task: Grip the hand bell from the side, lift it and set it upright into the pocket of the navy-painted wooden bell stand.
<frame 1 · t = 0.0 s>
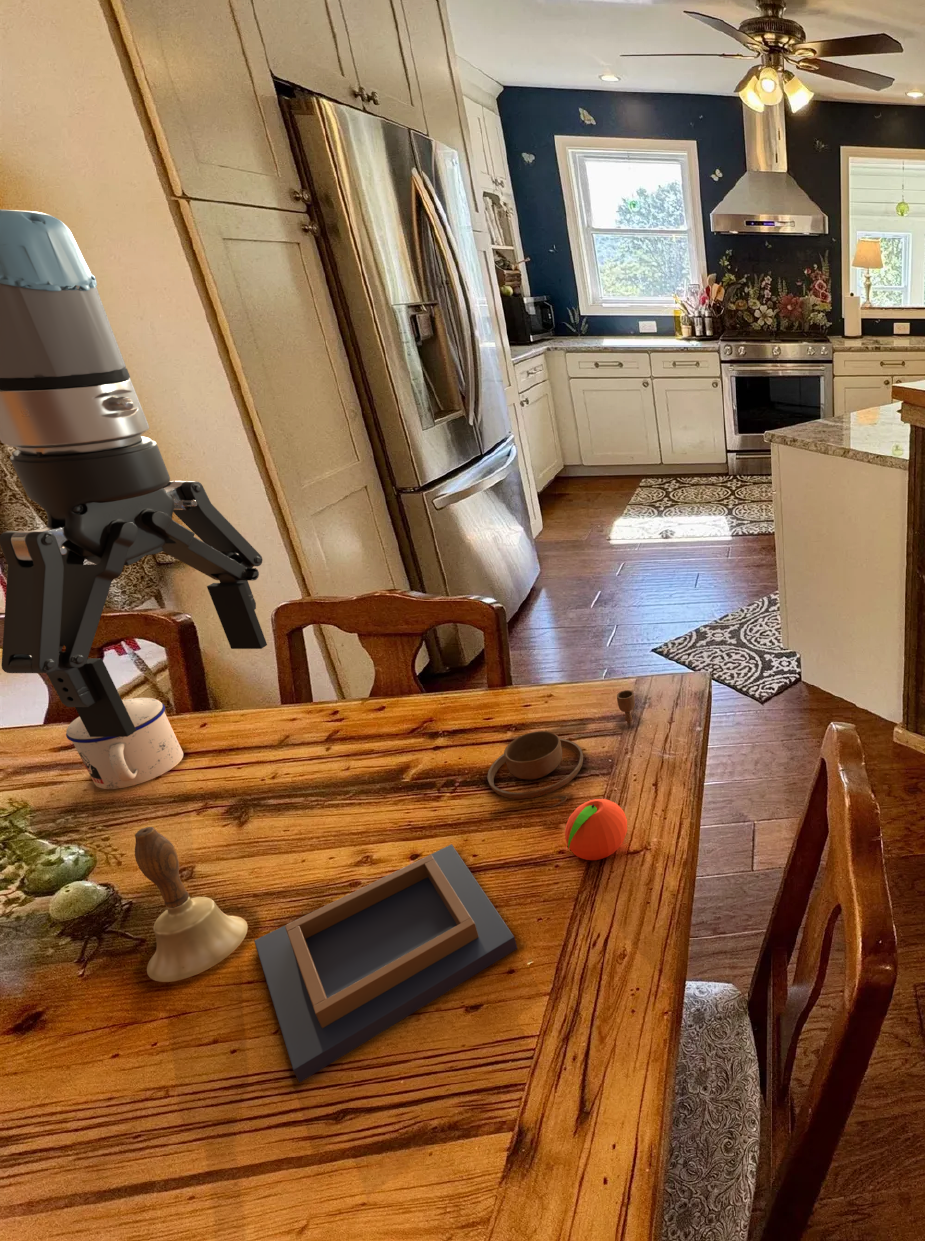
hand: (188, 686, 61), 31 cm above the table, tool pointing down, fingers open, 13 cm apart
teacup with lid: (141, 778, 95), on the table
place setting: (570, 767, 100), on the table
clementine: (597, 855, 85), on the table
bell stand: (391, 955, 72), on the table
hand bell: (203, 953, 72), on the table
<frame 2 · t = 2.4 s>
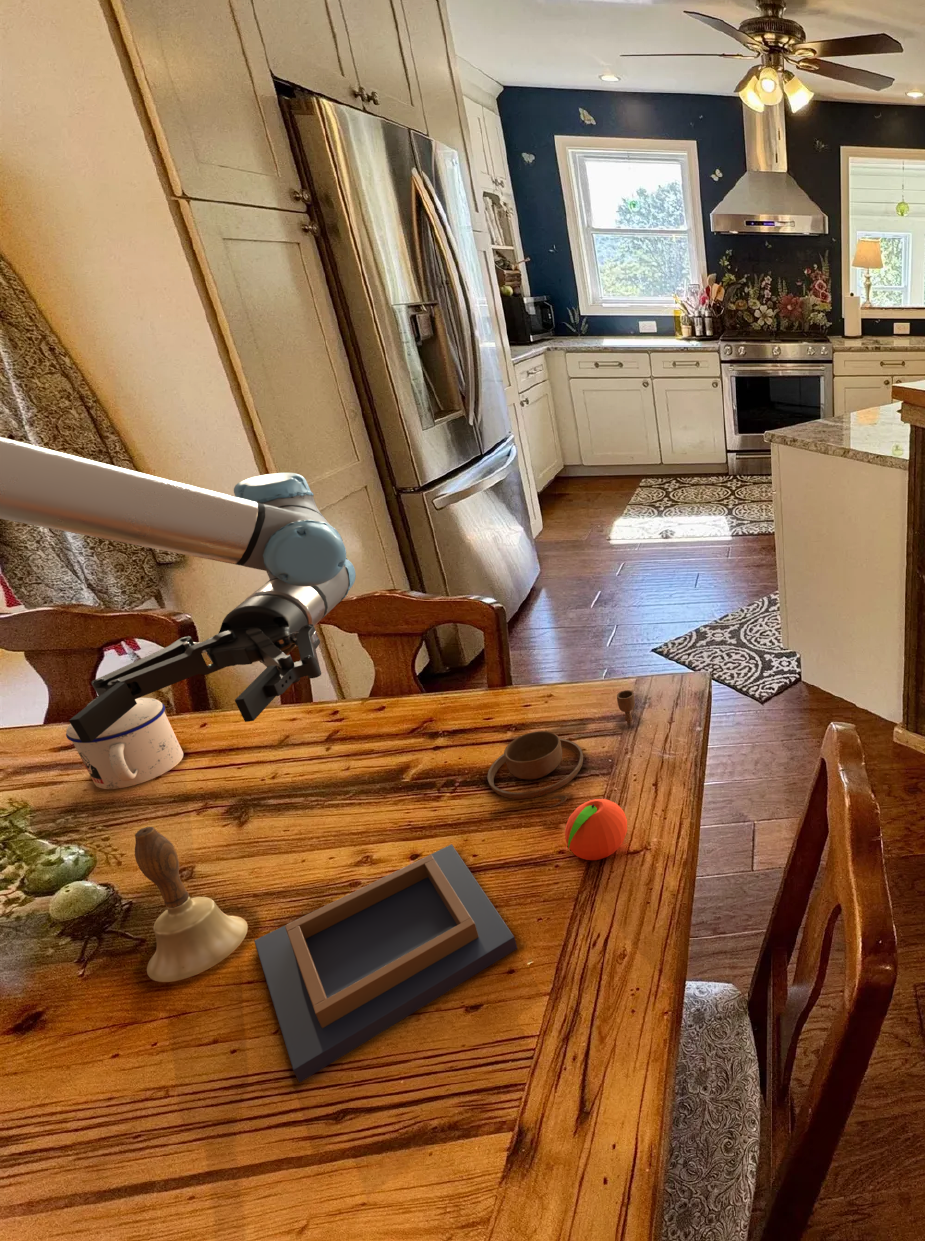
hand: (163, 721, 70), 23 cm above the table, tool horizontal, fingers open, 13 cm apart
nothing on the table moved.
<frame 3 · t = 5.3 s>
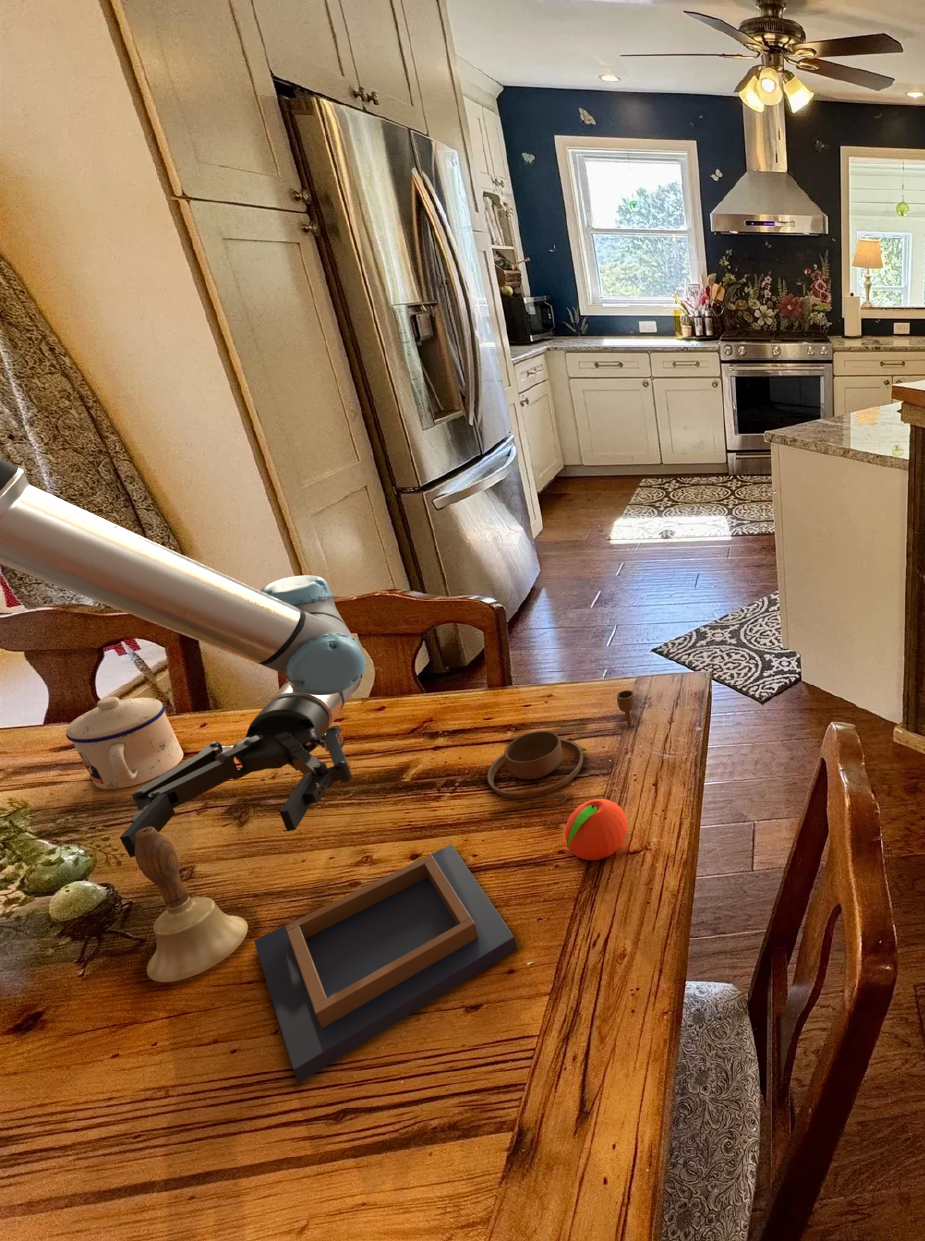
hand: (210, 833, 74), 9 cm above the table, tool horizontal, fingers open, 13 cm apart
nothing on the table moved.
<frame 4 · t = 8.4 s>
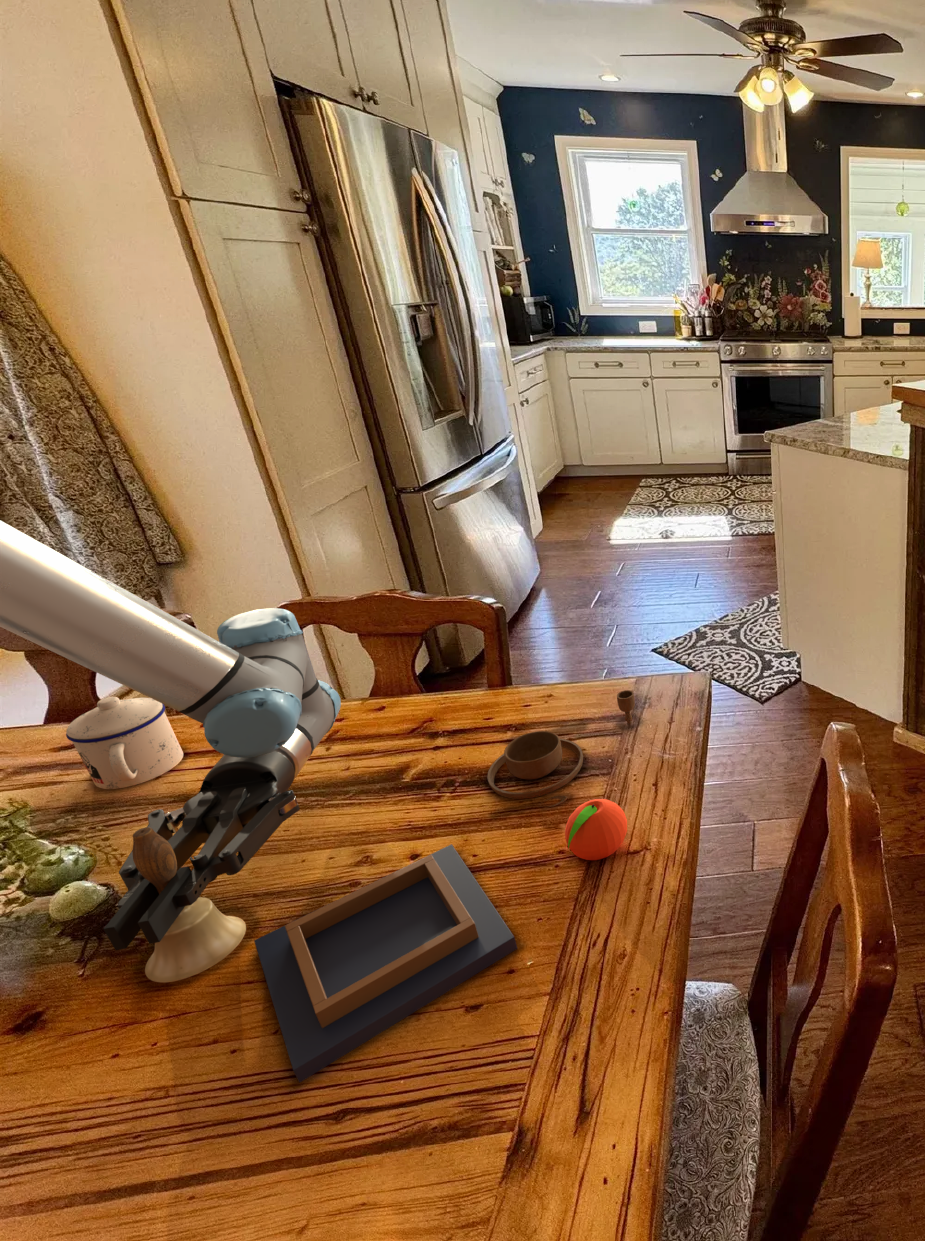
hand: (132, 935, 63), 9 cm above the table, tool horizontal, fingers closed on hand bell, 2 cm apart
hand bell: (201, 954, 72), on the table, touching gripper
everything else where it was.
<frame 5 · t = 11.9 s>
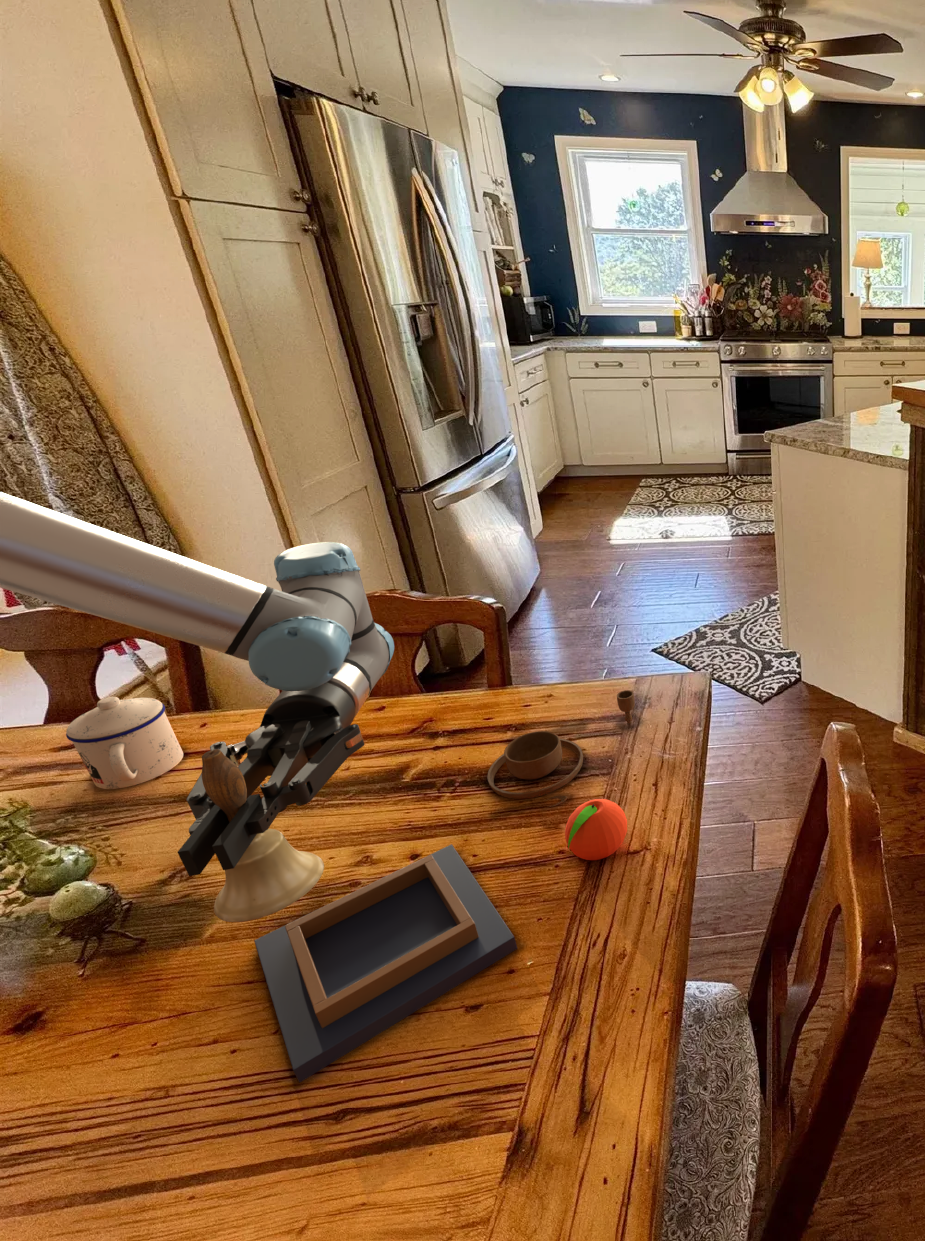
hand: (206, 860, 60), 18 cm above the table, tool horizontal, fingers closed on hand bell, 2 cm apart
hand bell: (272, 888, 68), point 9 cm above the table, touching gripper
everything else where it was.
when the fingers open (12 cm above the table, at t = 15.4 s): hand bell stays where it is, resting on bell stand.
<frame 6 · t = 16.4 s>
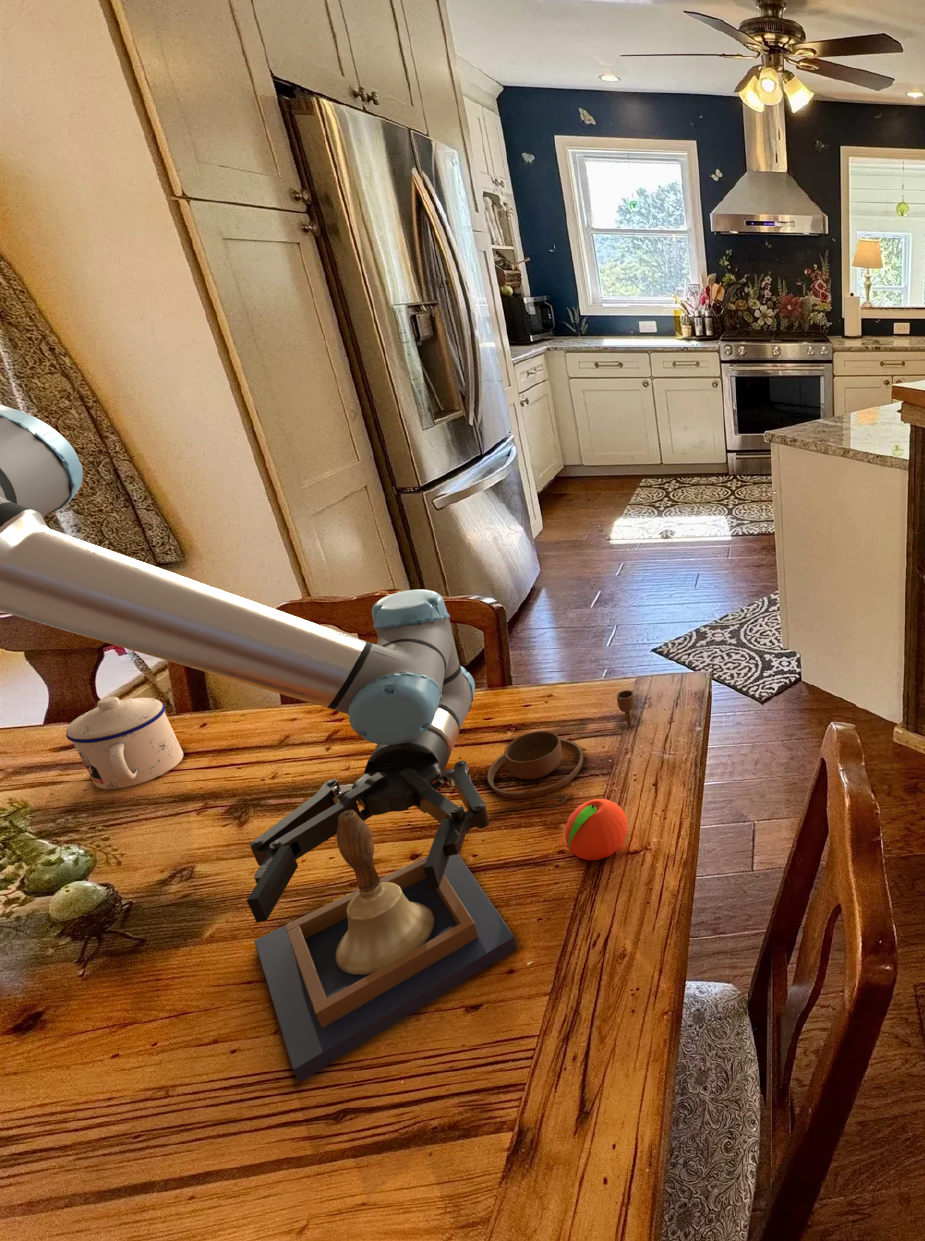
hand: (346, 894, 64), 12 cm above the table, tool horizontal, fingers open, 13 cm apart
hand bell: (387, 939, 71), point 2 cm above the table, touching bell stand
everything else where it was.
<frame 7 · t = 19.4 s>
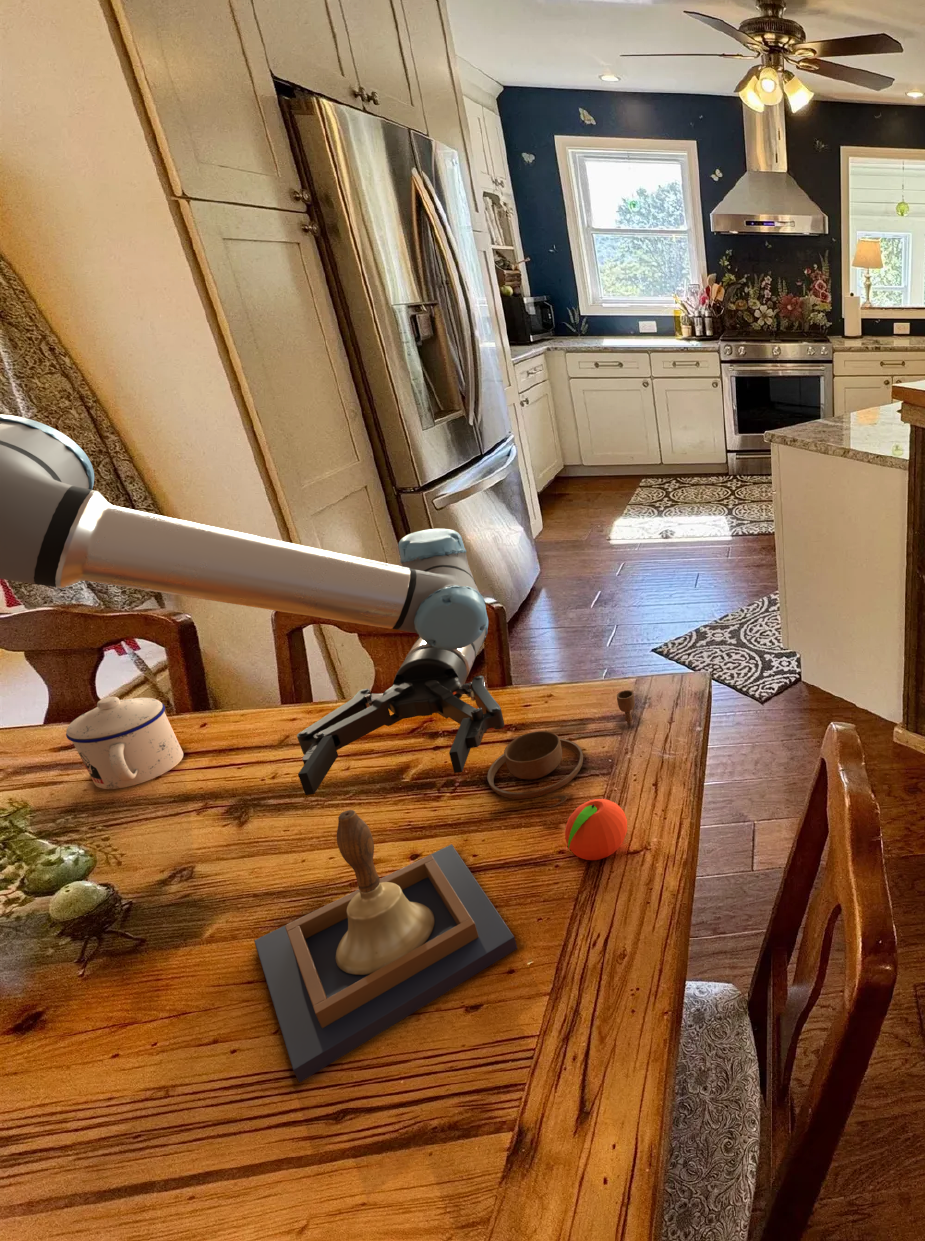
hand: (382, 773, 74), 16 cm above the table, tool horizontal, fingers open, 13 cm apart
nothing on the table moved.
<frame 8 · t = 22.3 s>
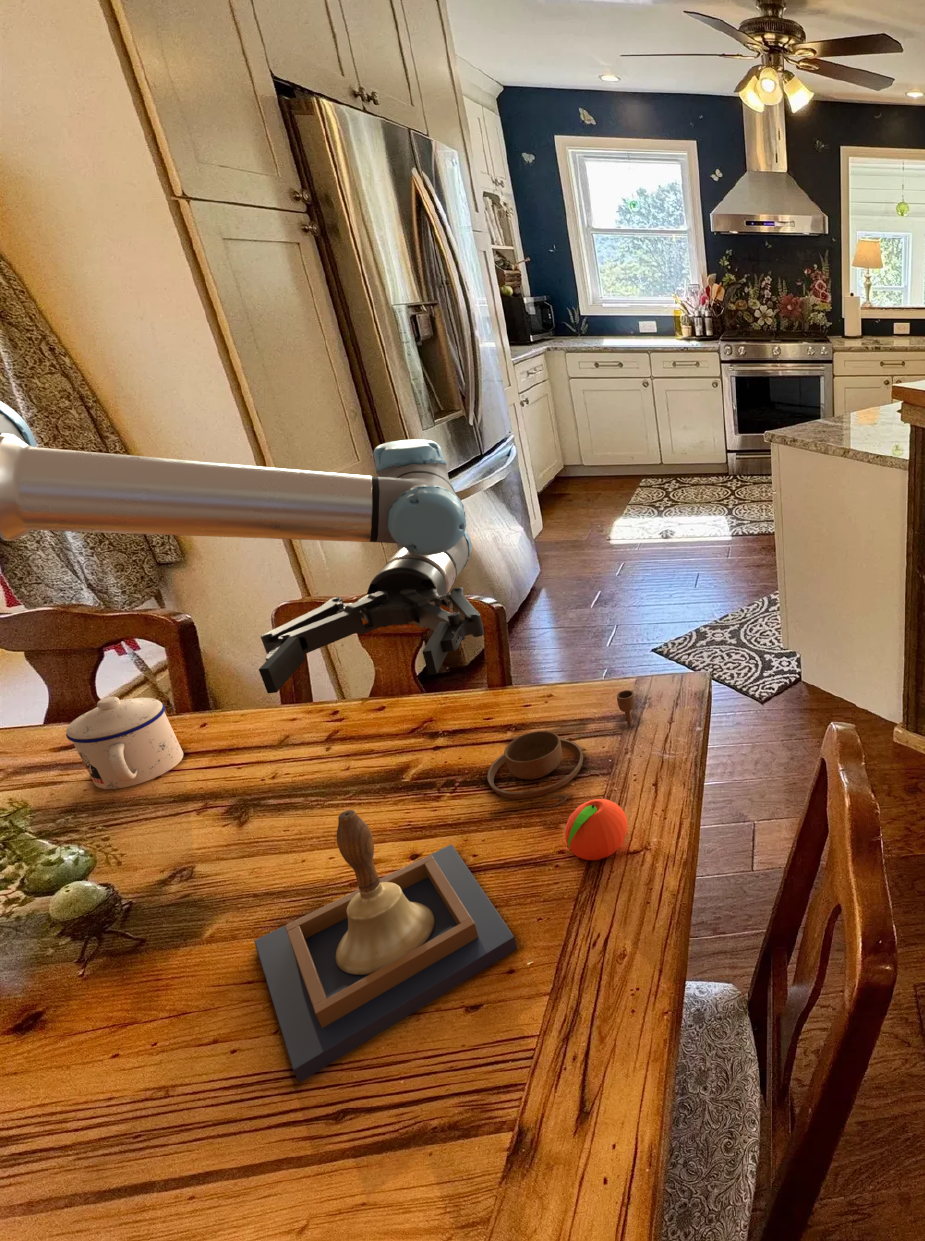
hand: (350, 672, 69), 28 cm above the table, tool horizontal, fingers open, 13 cm apart
nothing on the table moved.
at the end: hand bell inside the target area on the bell stand (0.1 cm from its centre), point 2.3 cm above the bell stand's base; hand bell tilted 0°; the gripper is holding nothing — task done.
